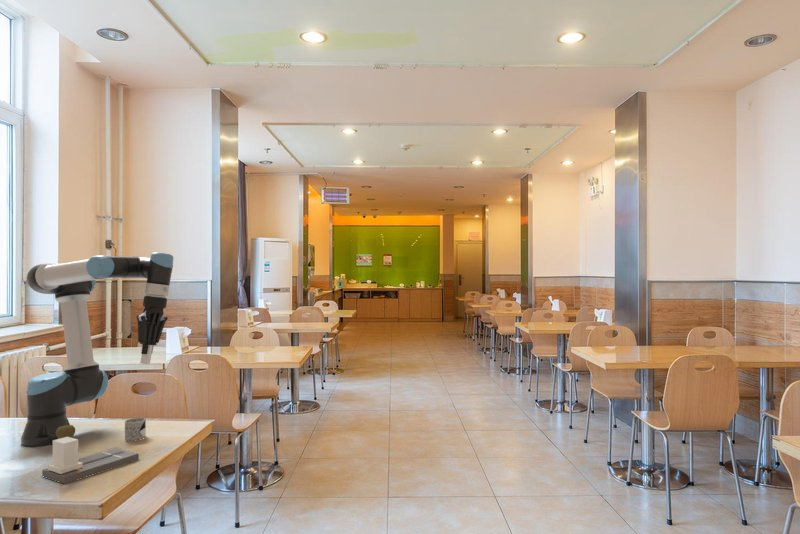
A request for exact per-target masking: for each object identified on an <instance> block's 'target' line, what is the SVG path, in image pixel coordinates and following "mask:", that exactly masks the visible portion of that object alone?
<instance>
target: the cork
mask: <svg viewBox="0 0 800 534" xmlns="http://www.w3.org/2000/svg"><path fill="white" fill-rule="evenodd" d="M75 433H76V427H75V426H74V425H71V424H70V425H65V426H61V427H59V428H58V429H57V430H56V436H57V437H58V439H60V438H64V437H70V438H74V439H75V437H74V435H75Z"/></svg>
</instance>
